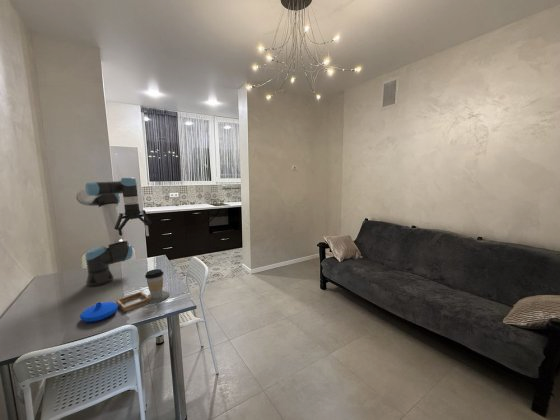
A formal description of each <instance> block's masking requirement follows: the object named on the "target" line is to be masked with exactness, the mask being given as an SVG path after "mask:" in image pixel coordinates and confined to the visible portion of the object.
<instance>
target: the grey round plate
mask: <svg viewBox="0 0 560 420" xmlns="http://www.w3.org/2000/svg"><path fill="white" fill-rule="evenodd" d="M146 295H147V294H146ZM147 296H148V297H150V300H151V301H149V302H148V304H149V303H152V304H158V303H161V302H164V301H166V300H167V299H168V298H170V293H169V292H168V291H166V290H163V295H162V297H160V298H157V299H152V298H151V295H150V293H149V294H148V295H147ZM144 299H145V298H144ZM144 299H143V300H144Z"/></svg>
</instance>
